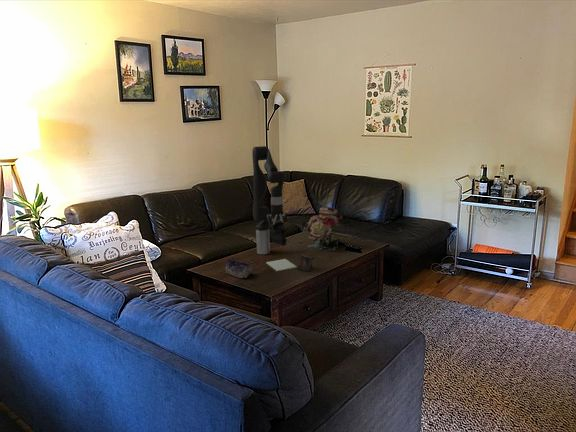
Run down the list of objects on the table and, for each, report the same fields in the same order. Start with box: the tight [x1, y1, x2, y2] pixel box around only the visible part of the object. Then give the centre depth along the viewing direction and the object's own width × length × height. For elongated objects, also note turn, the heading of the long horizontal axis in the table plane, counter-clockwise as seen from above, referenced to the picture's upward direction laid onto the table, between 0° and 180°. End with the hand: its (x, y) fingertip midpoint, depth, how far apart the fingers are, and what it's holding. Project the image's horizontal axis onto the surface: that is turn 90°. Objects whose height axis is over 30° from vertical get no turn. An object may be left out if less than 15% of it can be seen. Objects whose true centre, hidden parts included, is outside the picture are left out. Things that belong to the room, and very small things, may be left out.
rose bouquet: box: [306, 205, 346, 252], centre depth 337 cm, size 26×29×30 cm
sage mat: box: [266, 258, 298, 272], centre depth 303 cm, size 18×14×1 cm
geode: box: [225, 257, 253, 279], centre depth 288 cm, size 20×12×10 cm, turn 52°
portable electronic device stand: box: [296, 254, 315, 273], centre depth 294 cm, size 9×8×8 cm
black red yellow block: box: [269, 220, 288, 247], centre depth 296 cm, size 4×13×15 cm, turn 40°
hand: (277, 229), depth 296 cm, fingers closed on black red yellow block, 4 cm apart
